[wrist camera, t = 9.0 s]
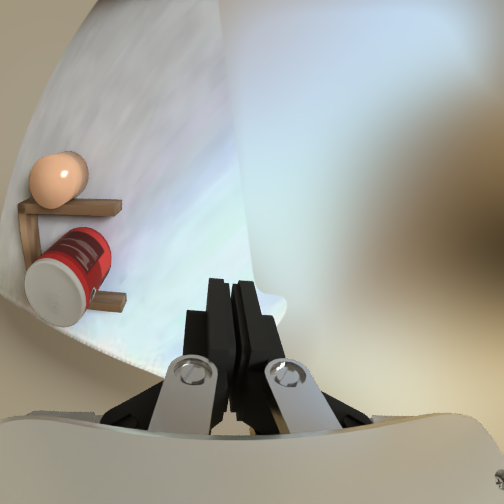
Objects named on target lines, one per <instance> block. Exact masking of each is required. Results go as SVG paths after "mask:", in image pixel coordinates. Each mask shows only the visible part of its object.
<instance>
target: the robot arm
mask: <svg viewBox="0 0 504 504" xmlns="http://www.w3.org/2000/svg"><path fill="white" fill-rule="evenodd" d="M228 399H229V401H230V411H231V412H236V416H237V421H243V422H244V423H246V424H247V425H249V426H250V428H249V430H250V436H223V435H222V436H221V435H211V429H212V428H213V427H214V426H216V425H217V424H218V423H219V422H221V421H222V419H223V414H224V412H226V411H227V405H228ZM0 504H504V454H503V453H502V451H501V450H500V448H499V446H498V445H497V444H496V442H495V441H494V439H493V438H492V436H491V435H490V434H489V433H488V431H487V430H486V429H485V428H484V427H483V426H482V424H481V423H480V422H478V421H477V420H476V419H474V418H472V417H470V416H467V415H463V414H456V413H433V414H425V415H419V416H376V415H373V416H372V417H371V418H368V417H367V416H366V415H365V414H363V413H361V412H360V411H358V410H356V409H354V408H352V407H350V406H348V405H346V404H344V403H343V402H341V401H339V400H337V399H335V398H333V397H331V396H329V395H328V394H326V393H324V392H322V391H321V390H320V389H319V387H318V385H317V384H316V382H315V380H314V378H313V377H312V375H311V373H310V371H309V370H308V369H307V367H306V366H304V365H303V364H302V363H300V362H298V361H296V360H293V359H288V358H285V355H284V351H283V348H282V345H281V341H280V338H279V334H278V331H277V328H276V324H275V321H274V318H273V316H272V315H262V314H261V310H260V306H259V302H258V298H257V294H256V290H255V286H254V282H253V281H240V280H239V281H238V284H233V286H232V292H231V298H230V289H229V283H224V279H215V278H209V284H208V294H207V305H206V311H194V310H187V314H186V324H185V335H184V346H183V356H180V357H178V358H176V359H175V360H173V361H172V362H171V364H170V365H169V367H168V370H167V373H166V376H165V379H164V380H163V381H161V382H160V383H158V384H156V385H154V386H152V387H151V388H149V389H147V390H145V391H144V392H142V393H140V394H138V395H137V396H135V397H133V398H131V399H129V400H127V401H125V402H123V403H122V404H120V405H118V406H116V407H114V408H112V409H110V410H109V411H107V412H106V413H105V414H104V415H95V413H94V412H59V411H33V412H31V413H29V414H27V415H24V416H13V417H8V418H4V419H1V420H0Z"/></svg>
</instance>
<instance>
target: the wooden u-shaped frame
mask: <svg viewBox="0 0 504 504" xmlns="http://www.w3.org/2000/svg"><path fill="white" fill-rule="evenodd" d="M121 210H122V200H112V199H71V200H70V201H68V202H66V203H65V204H63V205H61V206H60V207H58V208H54V209H48V208H44V207H42V206H41V205H39V204H38V203H37V202H36V201H35V199H34V198H29V199H27V200H25V201H23V202H21V203H19V204H18V214H19V223H20V232H21V239H22V246H23V252H24V259H25V264H26V270H28V269H29V268H30V266H31V265H32V264H33V263H34V262H35V261H36V260H37V259H38V258H39V257H40V256H41V255H42V253H41V246H40V238H39V229H38V219H37V214H63V215H92V216H116V215H117V214H118V213H119V212H120V211H121ZM126 301H127V299H126V293H118V292H107V291H97V292H96V294H95V296H94V298H93V299H92V301H91V303H90V304H89V306H88V308H87V309H91V310H100V311H109V312H119V313H122V310H123V308H124V306H125V303H126Z"/></svg>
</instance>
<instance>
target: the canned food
mask: <svg viewBox="0 0 504 504" xmlns="http://www.w3.org/2000/svg"><path fill="white" fill-rule="evenodd" d="M110 267H111V251H110V248H109V245H108V243H107V241H106V240H105V238H104V237H103V236H102V235H101V234H100V233H98V232H97V231H96V230H94V229H91V228H87V227H79V228H75V229H72V230H70V231H69V232H68V233H67V234H65V235H64V236H63V237H62V238H61V239H59V240H58V241H57V242H56V243H55V244H54V245H52V246H51V247H50V248H49V249H48V250H47V251H46V252H44V253H43V254H42V255H41V256H40V257H39V258H38V259H37V260H36V261H35V262H34V263H33V264H32V265H31V266H30V268H29V269H28V270H27V272H26V275H25V279H24V288H25V293H26V297H27V299H28V301H29V303H30V305H31V307H32V308H33V310H34V311H35V312H36V313H37V314H38V315H39V316H40V317H41V318H42V319H43V320H45V321H46V322H48V323H50V324H52V325H54V326H58V327H69V326H72V325H74V324H75V323H77V322H78V321H79V320H80V318H81V317H82V316H83V314H84V313H85V311H86V309H87V308H88V306H89V304H90V303H91V301H92V299H93V298H94V296H95V294H96V292H97V291H98V289H99V288H100V286H101V284H102V283H103V281H104V279H105V278H106V276H107V274H108V272H109V270H110Z"/></svg>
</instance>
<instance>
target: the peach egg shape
mask: <svg viewBox="0 0 504 504" xmlns="http://www.w3.org/2000/svg"><path fill="white" fill-rule="evenodd" d="M88 176H89V173H88V167H87V164H86V162H85V160H84V159H83V158H82V157H81V156H80V155H79V154H77V153H75V152H72V151H65V152H61V153H57V154H52V155H48V156H45V157H42V158H41V159H39V160H38V161H37V162H36V163H35V164H34V166H33V167H32V170H31V172H30V177H29V187H30V191H31V194H32V196H33V198H34V199H35V201H36V202H37V203H38V204H39V205H41V206H42V207H44V208H48V209H54V208H58V207H60V206H61V205H63V204H65V203H66V202H68V201H70V200H71V199H73V198H75V197H77V196H78V195H80V194H81V193H82V192H83V190H84V189H85V187H86V185H87V182H88Z"/></svg>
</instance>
